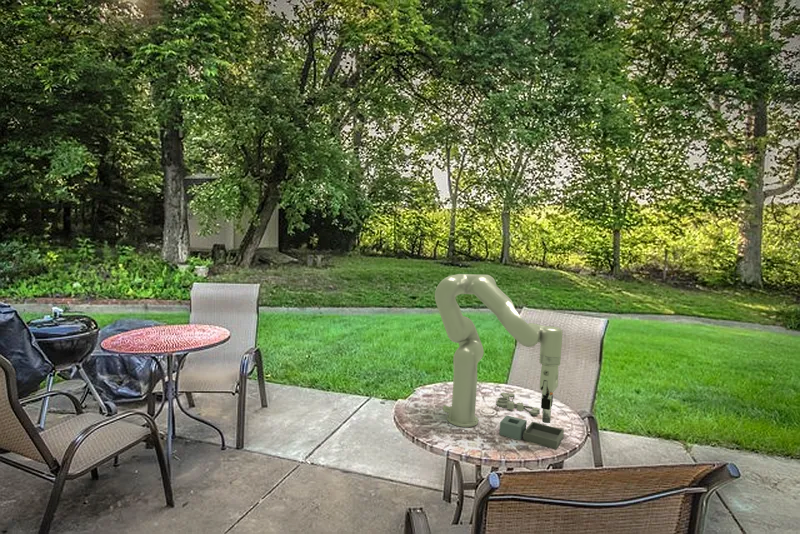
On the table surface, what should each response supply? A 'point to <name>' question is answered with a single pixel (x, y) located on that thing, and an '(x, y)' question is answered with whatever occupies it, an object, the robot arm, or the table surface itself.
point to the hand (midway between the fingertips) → (546, 406)
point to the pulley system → (506, 403)
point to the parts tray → (543, 435)
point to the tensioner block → (512, 427)
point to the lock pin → (547, 412)
